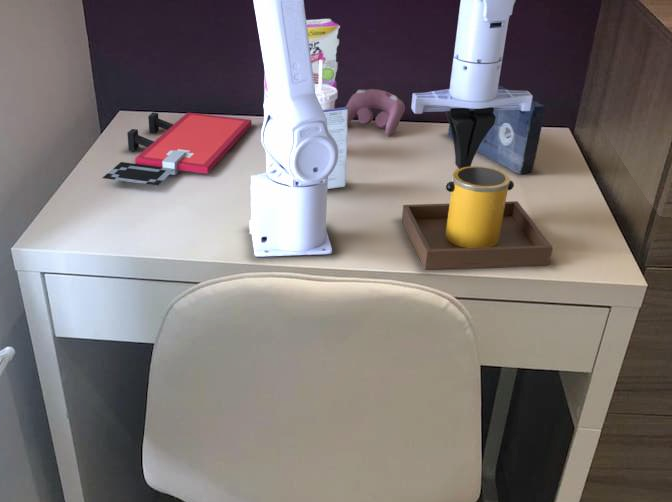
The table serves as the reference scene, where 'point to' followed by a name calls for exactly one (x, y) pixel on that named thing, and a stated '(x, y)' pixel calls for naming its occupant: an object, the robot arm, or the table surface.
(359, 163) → the table surface
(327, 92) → the smoothie
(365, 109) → the video game controller
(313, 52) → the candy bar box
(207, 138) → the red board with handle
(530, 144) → the vhs cassette tape
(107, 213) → the table surface
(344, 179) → the ink box
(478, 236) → the pot
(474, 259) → the tray
